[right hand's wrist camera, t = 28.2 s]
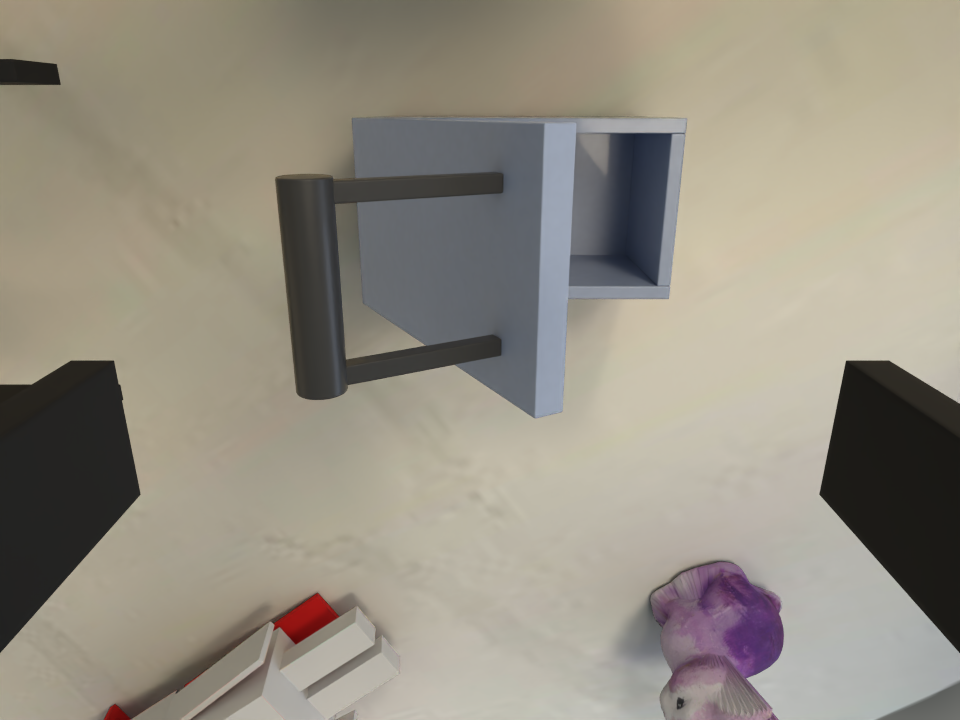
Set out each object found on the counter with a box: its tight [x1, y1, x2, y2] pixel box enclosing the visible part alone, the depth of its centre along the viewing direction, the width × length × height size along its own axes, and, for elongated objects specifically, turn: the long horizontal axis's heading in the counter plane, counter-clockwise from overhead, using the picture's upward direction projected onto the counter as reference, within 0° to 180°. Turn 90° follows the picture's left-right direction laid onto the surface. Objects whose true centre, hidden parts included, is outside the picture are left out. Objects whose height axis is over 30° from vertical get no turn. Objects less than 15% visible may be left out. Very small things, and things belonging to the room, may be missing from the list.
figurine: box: [650, 562, 784, 720], centre depth 53 cm, size 9×10×15 cm
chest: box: [367, 116, 687, 299], centre depth 43 cm, size 18×10×10 cm, turn 90°
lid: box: [275, 118, 576, 418], centre depth 29 cm, size 18×10×9 cm
